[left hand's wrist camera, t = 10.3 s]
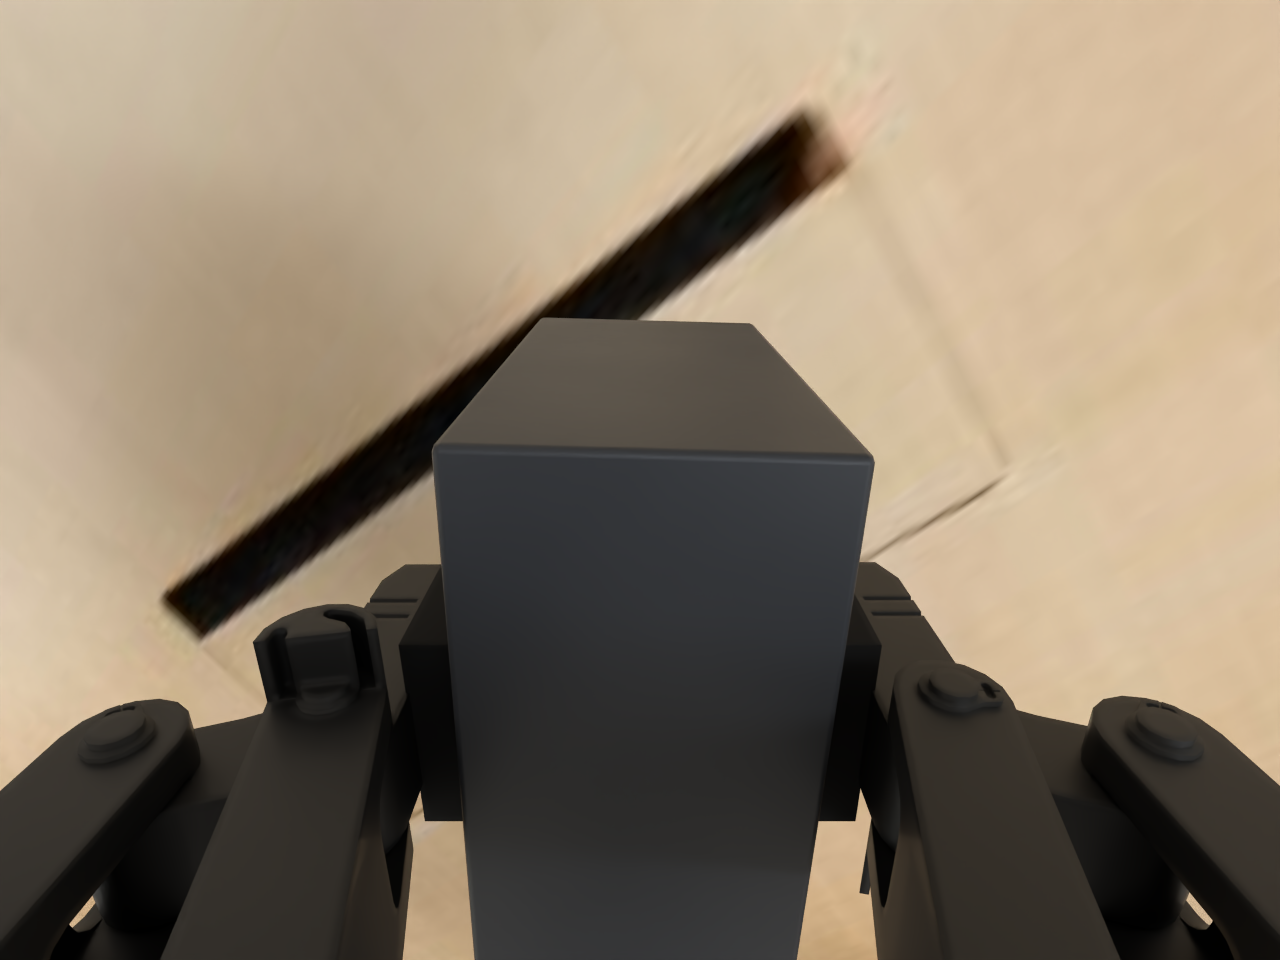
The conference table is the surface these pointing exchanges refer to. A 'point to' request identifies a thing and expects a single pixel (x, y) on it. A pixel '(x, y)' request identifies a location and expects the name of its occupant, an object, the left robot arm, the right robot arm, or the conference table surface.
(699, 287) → the conference table surface
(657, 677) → the rail
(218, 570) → the conference table surface
